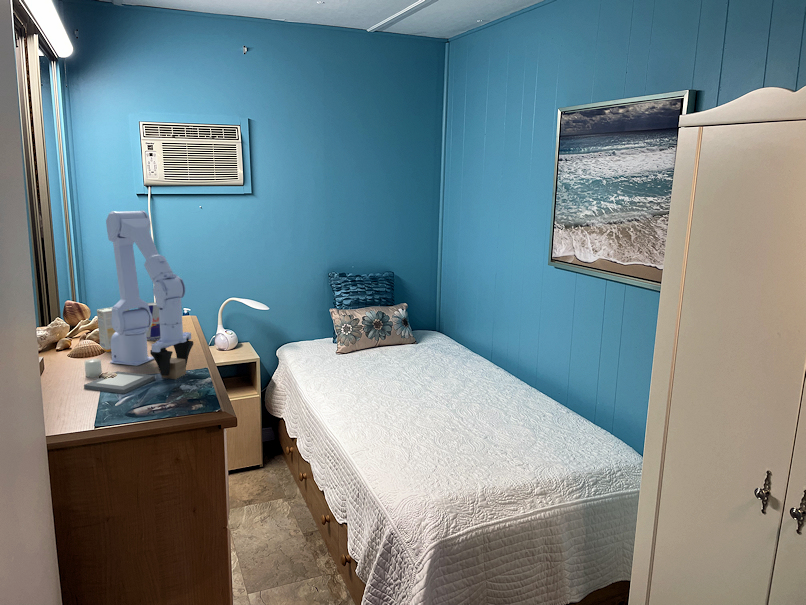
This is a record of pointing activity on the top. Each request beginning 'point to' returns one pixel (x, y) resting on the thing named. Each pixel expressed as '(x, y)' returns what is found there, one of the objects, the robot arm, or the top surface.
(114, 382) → the mat
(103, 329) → the supplement box
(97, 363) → the white capsule cylinder
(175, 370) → the walnut block
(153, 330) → the energy drink
